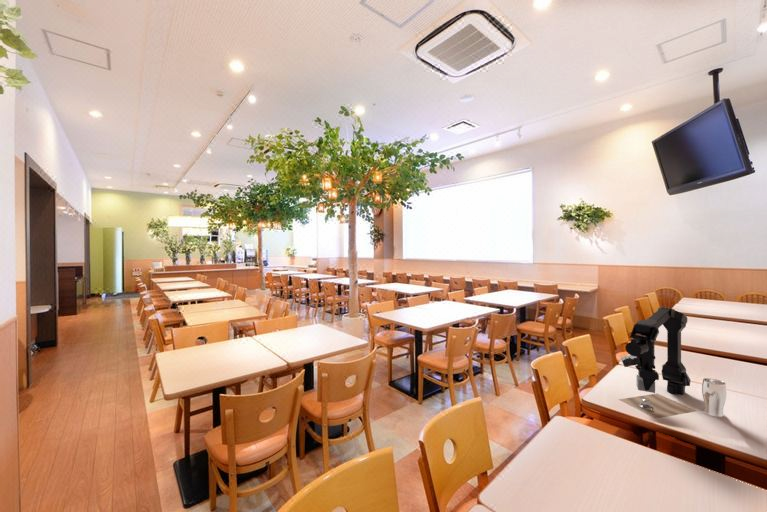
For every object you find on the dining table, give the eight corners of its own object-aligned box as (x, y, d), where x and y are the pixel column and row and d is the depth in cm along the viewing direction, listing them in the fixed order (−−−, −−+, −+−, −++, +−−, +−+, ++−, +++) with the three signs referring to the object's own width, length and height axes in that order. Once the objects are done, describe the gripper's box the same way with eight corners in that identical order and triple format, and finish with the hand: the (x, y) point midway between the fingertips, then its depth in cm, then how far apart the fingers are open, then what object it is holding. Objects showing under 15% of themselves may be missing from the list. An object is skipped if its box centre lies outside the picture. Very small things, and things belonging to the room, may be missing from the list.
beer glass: (718, 413, 133) (719, 378, 132) (730, 422, 126) (731, 386, 125) (697, 411, 135) (698, 376, 134) (708, 420, 128) (708, 383, 128)
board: (657, 396, 148) (657, 393, 148) (697, 414, 133) (697, 410, 133) (618, 402, 144) (618, 399, 144) (655, 421, 128) (655, 418, 128)
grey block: (636, 384, 140) (636, 374, 140) (652, 387, 137) (652, 377, 137) (638, 390, 136) (638, 379, 136) (655, 393, 133) (655, 382, 133)
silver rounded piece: (644, 403, 140) (644, 396, 140) (656, 409, 135) (656, 402, 135) (634, 404, 139) (634, 397, 139) (646, 410, 134) (646, 403, 134)
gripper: (620, 342, 148) (620, 375, 149) (624, 355, 132) (624, 391, 133) (651, 346, 142) (651, 380, 143) (659, 360, 126) (658, 398, 127)
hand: (645, 387), depth 137 cm, fingers closed on grey block, 6 cm apart
